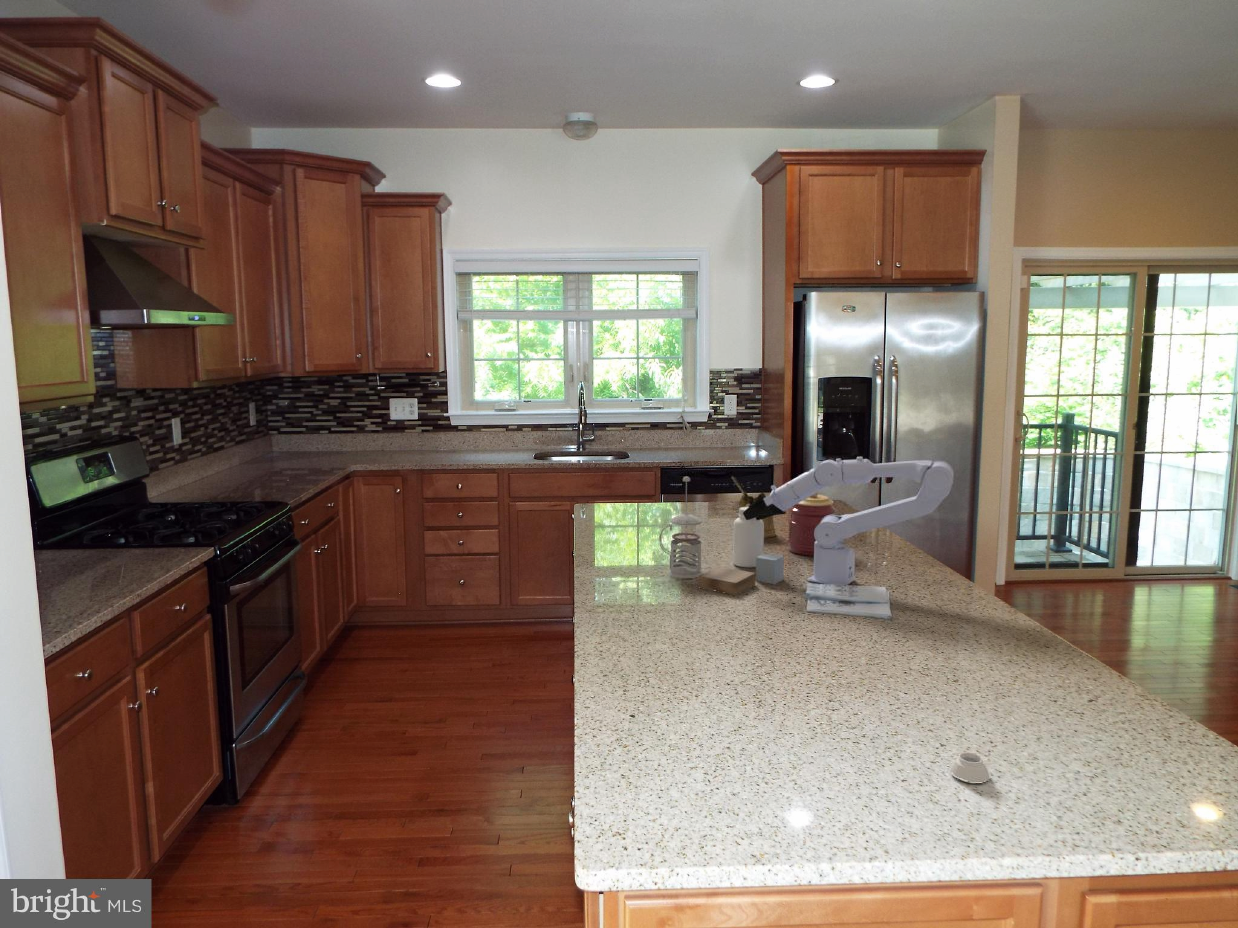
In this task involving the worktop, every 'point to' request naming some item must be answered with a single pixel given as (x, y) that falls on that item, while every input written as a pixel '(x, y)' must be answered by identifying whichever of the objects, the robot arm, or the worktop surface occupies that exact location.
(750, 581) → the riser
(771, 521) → the brass mortar and pestle
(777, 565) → the slate cube
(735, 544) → the pill bottle
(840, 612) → the white bicycle print cloth
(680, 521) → the french press
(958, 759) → the upturned beige bowl
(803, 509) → the canister
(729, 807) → the worktop surface
